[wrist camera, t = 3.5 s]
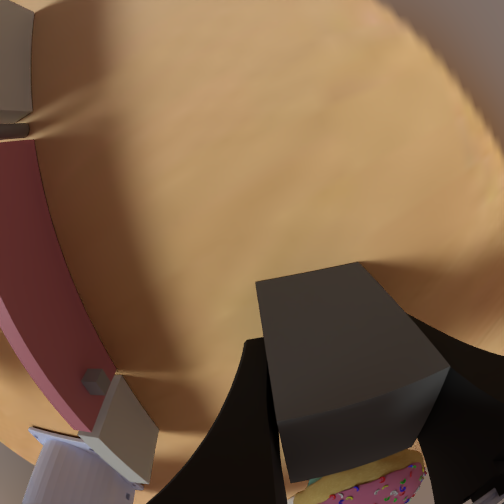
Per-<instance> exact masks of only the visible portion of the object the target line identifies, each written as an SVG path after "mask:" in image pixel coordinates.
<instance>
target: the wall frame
mask: <svg viewBox="0 0 504 504" xmlns="http://www.w3.org/2000/svg"><path fill="white" fill-rule="evenodd" d="M33 19H34V12H33V11H31V10H29V9H26V8H24V7H22V6H20V5H18V4H16V3H14V2H12V1H9V0H0V140H4V139H15V138H25V137H26V136H27V135H28V133H29V126H28V124H26V123H15V122H17V121H18V120H20V119H21V118H23V117H25V116H26V115H28V114H29V113H31V112H32V111H33V110H32V96H31V43H32V29H33ZM9 123H14V124H9ZM158 432H159V429H158V428H157V426H156V425H155V424H154V422H153V421H152V420H151V418H150V417H149V416H148V414H147V413H146V411H145V410H144V408H143V407H142V406H141V404H140V403H139V401H138V400H137V398H136V397H135V395H134V394H133V392H132V391H131V389H130V388H129V386H128V384H127V383H126V381H125V380H124V378H123V376H122V375H114V377H113V379H112V381H111V384H110V386H109V389H108V391H107V394H106V396H105V399H104V401H103V404H102V406H101V409H100V411H99V414H98V417H97V419H96V422H95V425H94V427H93V430H92V432H85V431H79V432H78V436H79V437H80V438H81V439H82V440H83V441H84V442H85V443H86V444H87V445H88V446H89V447H90V448H91V449H93V450H94V451H95V452H96V453H97V454H98V455H99V456H100V457H101V458H102V459H103V460H105V461H106V462H107V463H108V464H109V465H110V466H111V467H113V468H114V469H115V470H116V471H117V472H119V473H120V474H121V475H122V476H124V477H125V478H126V479H127V480H129V481H130V482H136V483H143V484H149V483H150V477H151V471H152V465H153V459H154V454H155V448H156V443H157V437H158Z"/></svg>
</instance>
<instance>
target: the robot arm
mask: <svg viewBox="0 0 504 504" xmlns="http://www.w3.org/2000/svg"><path fill="white" fill-rule="evenodd" d="M406 314H407V313H406ZM407 315H408V316H409V317H410V318H411V319H412V321H413V322H414V323H415V324H416V325H417V326H418V327H419V329H420V330H421V331H422V332H423V333H424V335H425V336H426V337H427V338H428V339H429V340H430V342H431V343H432V344H433V345H434V346H435V348H436V349H437V350H438V351H439V353H440V354H441V355H442V356H443V357H444V359H445V360H446V361H447V362H448V364H449V365H450V368H449V371H448V374H447V376H446V379H445V381H444V383H443V386H442V388H441V390H440V393H439V395H438V397H437V399H436V401H435V404H434V406H433V408H432V410H431V412H430V414H429V416H428V418H427V420H426V422H425V424H424V426H423V427H422V429H421V431H420V433H419V435H418V437H417V438H418V441H419V443H420V446H421V449H422V452H423V455H424V458H425V462H426V465H427V468H428V472H429V476H430V480H431V485H432V490H433V496H434V502H435V504H463V503H465V502H466V501H468V500H469V499H471V500H472V502H473V503H472V504H497V503H498V502H499V501H501V500H502V499H503V498H504V356H501V355H497V354H494V353H491V352H488V351H485V350H482V349H479V348H476V347H473V346H471V345H469V344H466V343H464V342H462V341H459V340H457V339H455V338H453V337H451V336H449V335H447V334H445V333H443V332H441V331H439V330H437V329H435V328H433V327H431V326H429V325H427V324H425V323H424V322H422V321H420V320H418V319H416V318H414V317H413V316H411V315H409V314H407ZM28 430H29V432H30V433H31V434H32V435H33V436H34V437H35V438H36V439H37V440H38V441H39V442H40V443H41V444H42V445H43V448H42V450H41V452H40V455H39V457H38V460H37V462H36V465H35V468H34V470H33V473H32V475H31V478H30V481H29V484H28V486H27V489H26V492H25V495H24V498H23V502H22V504H133V501H134V495H135V490H144V487H143V486H142V485H141V484H140V483H136V482H130V481H129V480H127V479H126V478H125V477H124V476H122V475H121V474H120V473H119V472H117V471H116V470H115V469H114V468H113V467H111V466H110V465H109V464H108V463H107V462H106V461H105V460H103V459H102V458H101V457H100V456H99V455H98V454H97V453H96V452H95V451H94V450H93V449H91V448H90V447H89V446H88V445H87V444H86V443H85V442H84V441H83V440H82V439H79V438H74V437H69V436H65V435H60V434H56V433H52V432H48V431H44V430H40V429H37V428H33V427H29V429H28ZM146 504H287V498H286V492H285V486H284V480H283V473H282V467H281V459H280V445H279V430H278V425H277V420H276V414H275V407H274V401H273V394H272V388H271V381H270V375H269V368H268V362H267V355H266V349H265V342H264V337H261V338H255V339H250V340H246V342H245V343H244V348H243V352H242V357H241V360H240V364H239V367H238V370H237V373H236V375H235V378H234V381H233V384H232V386H231V389H230V391H229V393H228V396H227V398H226V400H225V402H224V404H223V406H222V408H221V410H220V412H219V414H218V416H217V418H216V420H215V422H214V423H213V425H212V427H211V428H210V430H209V432H208V433H207V435H206V437H205V438H204V440H203V441H202V442H201V444H200V445H199V447H198V448H197V450H196V451H195V453H194V454H193V455H192V456H191V458H190V459H189V460H188V462H187V463H186V464H185V465H184V466H183V467H182V469H181V470H180V471H179V472H178V473H177V474H176V475H175V477H174V478H173V479H172V480H171V481H170V482H169V483H168V484H167V485H166V486H165V487H164V488H163V489H162V490H161V491H160V492H159V493H158V494H157V495H155V496H154V497H153V498H152V499H151V500H150V501H149V502H148V503H146ZM502 504H504V502H503V503H502Z"/></svg>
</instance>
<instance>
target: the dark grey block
mask: <svg viewBox="0 0 504 504" xmlns="http://www.w3.org/2000/svg"><path fill="white" fill-rule="evenodd" d="M255 284H256V290H257V297H258V303H259V310H260V316H261V323H262V329H263V336H264V342H265V349H266V355H267V362H268V368H269V375H270V381H271V388H272V394H273V401H274V407H275V414H276V420H277V425H278V430H279V434H280V439H281V443H282V448H283V452H284V456H285V461H286V465H287V470H288V474H289V479H290V483H295V482H300V481H305V480H310V479H315V478H319V477H323V476H327V475H331V474H335V473H339V472H343V471H346V470H350V469H353V468H356V467H359V466H362V465H365V464H368V463H371V462H374V461H377V460H380V459H383V458H385V457H388V456H390V455H393V454H395V453H398V452H400V451H403V450H405V449H407V448H410V447H412V445H413V444H414V442H415V440H416V438H417V437H418V435H419V433H420V431H421V429H422V427H423V426H424V424H425V422H426V420H427V418H428V416H429V414H430V412H431V410H432V408H433V406H434V404H435V401H436V399H437V397H438V395H439V393H440V390H441V388H442V386H443V383H444V381H445V379H446V376H447V374H448V371H449V368H450V365H449V364H448V362H447V361H446V360H445V359H444V357H443V356H442V355H441V354H440V353H439V351H438V350H437V349H436V348H435V346H434V345H433V344H432V343H431V342H430V340H429V339H428V338H427V337H426V336H425V335H424V333H423V332H422V331H421V330H420V329H419V327H418V326H417V325H416V324H415V323H414V322H413V321H412V319H411V318H410V317H409V316H408V315H407V314H406V313H405V312H404V310H403V309H402V308H401V307H400V306H399V305H398V304H397V303H396V302H395V300H394V299H393V298H392V297H391V296H390V295H389V294H388V293H387V292H386V291H385V290H384V288H383V287H382V286H381V285H380V284H379V283H378V282H377V281H376V280H375V279H374V278H373V277H372V276H371V275H370V274H369V273H368V272H367V270H366V269H365V268H364V267H363V266H362V265H361V264H360V263H359V262H356V263H351V264H346V265H341V266H336V267H332V268H327V269H322V270H317V271H312V272H307V273H302V274H296V275H291V276H286V277H281V278H275V279H270V280H265V281H259V282H255Z"/></svg>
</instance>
